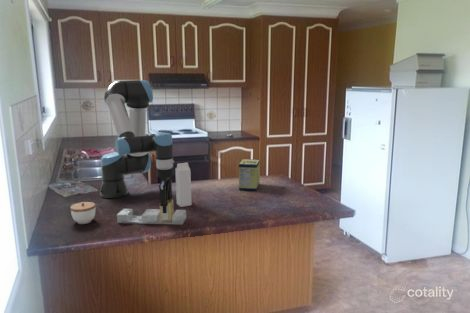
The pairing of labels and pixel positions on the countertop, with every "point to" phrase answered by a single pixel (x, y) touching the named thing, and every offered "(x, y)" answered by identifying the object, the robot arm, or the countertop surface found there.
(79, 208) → the lidded jar
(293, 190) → the countertop surface
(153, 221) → the rail
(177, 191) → the milk
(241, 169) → the protein box
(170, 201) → the nut block
